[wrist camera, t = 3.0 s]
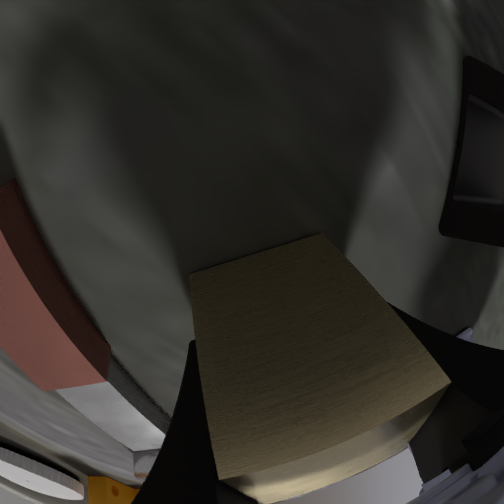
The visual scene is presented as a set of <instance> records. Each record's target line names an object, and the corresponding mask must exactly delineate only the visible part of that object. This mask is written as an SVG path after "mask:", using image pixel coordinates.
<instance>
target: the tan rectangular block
mask: <svg viewBox="0 0 504 504" xmlns="http://www.w3.org/2000/svg"><path fill="white" fill-rule="evenodd" d="M189 285H190V296H191V306H192V315H193V324H194V333H195V341H196V349H197V357H198V364H199V371H200V378H201V385H202V391H203V398H204V404H205V410H206V416H207V422H208V427H209V433H210V438H211V443H212V448H213V453H214V458H215V463H216V468H217V473H218V477H219V480H220V481H222V482H224V483H225V484H227V485H229V486H231V487H232V488H234V489H236V490H238V491H240V492H242V493H244V494H245V495H247V496H249V497H251V498H253V499H255V500H257V501H259V502H262V503H264V504H269V503H273V502H277V501H281V500H284V499H288V498H291V497H294V496H298V495H301V494H304V493H307V492H310V491H313V490H316V489H319V488H321V487H324V486H327V485H329V484H332V483H335V482H337V481H340V480H342V479H344V478H347V477H349V476H351V475H354V474H356V473H358V472H360V471H363V470H365V469H367V468H369V467H371V466H373V465H375V464H377V463H379V462H381V461H383V460H385V459H387V458H389V457H391V456H392V455H394V454H396V453H398V452H400V451H401V450H403V449H404V448H405V447H406V445H407V444H408V443H409V442H410V440H411V439H412V438H413V437H414V435H415V434H416V433H417V432H418V430H419V429H420V428H421V426H422V425H423V424H424V422H425V421H426V419H427V418H428V417H429V415H430V414H431V412H432V411H433V409H434V408H435V407H436V405H437V404H438V402H439V401H440V399H441V397H442V396H443V394H444V393H445V391H446V390H447V388H448V386H449V385H450V383H451V380H450V379H449V378H448V376H447V375H446V374H445V372H444V371H443V370H442V369H441V367H440V366H439V365H438V363H437V362H436V361H435V360H434V358H433V357H432V356H431V355H430V353H429V352H428V351H427V350H426V348H425V347H424V346H423V345H422V343H421V342H420V341H419V340H418V338H417V337H416V336H415V335H414V334H413V332H412V331H411V330H410V329H409V328H408V326H407V325H406V324H405V323H404V322H403V321H402V319H401V318H400V317H399V316H398V315H397V313H396V312H395V311H394V310H393V309H392V308H391V307H390V305H389V304H388V303H387V302H386V301H385V300H384V298H383V297H382V296H381V295H380V294H379V293H378V292H377V291H376V289H375V288H374V287H373V286H372V285H371V284H370V283H369V282H368V281H367V279H366V278H365V277H364V276H363V275H362V274H361V273H360V272H359V271H358V270H357V269H356V267H355V266H354V265H353V264H352V263H351V262H350V261H349V260H348V259H347V258H346V257H345V256H344V255H343V254H342V252H341V251H340V250H339V249H338V248H337V247H336V246H335V245H334V244H333V243H332V242H331V241H330V240H329V239H328V238H327V237H326V236H325V235H324V234H323V233H320V234H317V235H313V236H310V237H307V238H304V239H301V240H297V241H294V242H291V243H288V244H285V245H282V246H278V247H275V248H272V249H269V250H266V251H263V252H259V253H256V254H253V255H250V256H247V257H243V258H240V259H237V260H234V261H231V262H227V263H224V264H221V265H218V266H215V267H211V268H208V269H205V270H202V271H199V272H195V273H192V274H189Z"/></svg>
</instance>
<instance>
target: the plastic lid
mask: <svg viewBox="0 0 504 504" xmlns="http://www.w3.org/2000/svg"><path fill="white" fill-rule="evenodd" d="M0 475H1V476H3V477H5V478H7V479H8V480H11V481H12V482H15V483H17V484H19V485H21V486H23V487H26V488H28V489H31V490H34V491H36V492H40V493H43V494H46V495H49V496H53V497H58V498H63V499H69V500H82V499H84V486H83V485H82V484H81V483H79V481H76V480H75V479H74V478H71V477H70V476H67V475H66V474H63V473H62V472H59V471H57V470H55V469H52V468H51V467H48V466H46V465H43V464H42V463H39V462H36V461H35V460H31V459H30V458H27V457H25V456H23V455H19V454H18V453H14V452H13V451H9V450H8V449H4V448H2V447H0Z"/></svg>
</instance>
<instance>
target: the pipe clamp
mask: <svg viewBox="0 0 504 504" xmlns="http://www.w3.org/2000/svg"><path fill="white" fill-rule="evenodd" d="M138 491H139V489H133V488H131V487H129V486H126V485H124V484H122V483H119V482H117V481H115V480H113V479H111V478H109V477H103V476H88V499H89V504H131V502H132V501H133V499H134V498H135V496H136V495H137V493H138Z"/></svg>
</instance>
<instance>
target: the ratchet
mask: <svg viewBox="0 0 504 504" xmlns="http://www.w3.org/2000/svg"><path fill="white" fill-rule="evenodd" d="M0 346H1V348H2V349H3V350H4V351H5V352H6V353H7V355H8V356H9V357H10V358H11V359H12V360H13V361H14V362H15V363H16V365H17V366H18V367H19V368H20V369H21V370H22V371H23V372H24V373H25V374H26V375H27V376H28V377H29V378H30V379H31V380H32V381H33V382H34V383H35V384H36V385H37V386H38V387H39V388H40V389H41V390H42V391H49V390H56V391H57V392H58V393H59V394H60V395H61V396H62V397H64V398H65V399H66V400H67V401H68V402H69V403H70V404H72V405H73V406H74V407H75V408H76V409H77V410H79V411H80V412H81V413H82V414H83V415H85V416H86V417H87V418H88V419H90V420H91V421H92V422H93V423H95V424H96V425H97V426H99V427H100V428H101V429H103V430H104V431H105V432H107V433H108V434H109V435H111V436H112V437H114V438H115V439H116V440H118V441H119V442H121V443H122V444H124V445H125V446H127V447H128V448H130V449H131V450H133V462H134V475H135V477H136V478H137V479H139V480H141V481H143V482H144V481H145V479H146V477H147V475H148V474H149V472H150V470H151V468H152V466H153V464H154V462H155V459H156V457H157V455H158V453H159V450H160V448H161V446H162V443H163V441H164V438H165V436H166V433H167V430H168V428H169V425H170V422H171V420H170V419H169V418H168V417H167V416H166V415H165V414H164V413H163V412H162V411H161V410H160V409H159V408H158V407H157V406H156V405H155V404H154V403H153V402H152V401H151V400H150V399H149V398H148V397H147V396H146V395H145V394H144V393H143V392H142V391H141V390H140V389H139V388H138V386H137V385H136V384H135V383H134V382H133V381H132V380H131V379H130V378H129V376H128V375H127V374H126V373H125V372H124V371H123V370H122V368H121V367H120V366H119V365H118V364H117V362H116V361H115V360H114V359H113V358H112V356H111V355H110V353H111V347H110V346H109V344H108V343H107V342H106V340H105V339H104V338H103V336H102V335H101V334H100V332H99V331H98V330H97V328H96V327H95V325H94V324H93V323H92V321H91V320H90V318H89V317H88V316H87V314H86V313H85V311H84V310H83V308H82V307H81V305H80V304H79V302H78V301H77V299H76V298H75V296H74V294H73V293H72V291H71V290H70V288H69V287H68V285H67V283H66V282H65V280H64V278H63V277H62V275H61V273H60V272H59V270H58V268H57V266H56V265H55V263H54V261H53V259H52V257H51V256H50V254H49V252H48V250H47V248H46V246H45V244H44V243H43V241H42V239H41V237H40V235H39V233H38V231H37V229H36V227H35V225H34V222H33V220H32V218H31V216H30V214H29V212H28V209H27V207H26V205H25V203H24V200H23V198H22V196H21V193H20V191H19V188H18V186H17V183H16V181H15V178H14V179H12V180H10V181H9V182H7V183H6V184H4V185H3V186H1V187H0Z"/></svg>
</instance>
